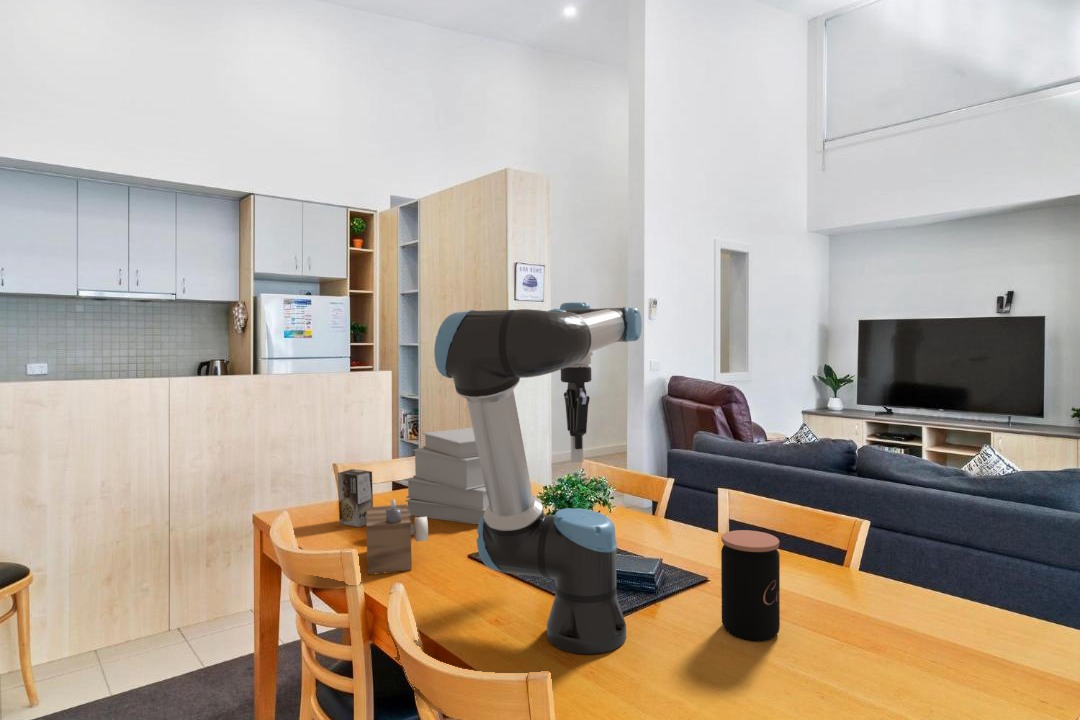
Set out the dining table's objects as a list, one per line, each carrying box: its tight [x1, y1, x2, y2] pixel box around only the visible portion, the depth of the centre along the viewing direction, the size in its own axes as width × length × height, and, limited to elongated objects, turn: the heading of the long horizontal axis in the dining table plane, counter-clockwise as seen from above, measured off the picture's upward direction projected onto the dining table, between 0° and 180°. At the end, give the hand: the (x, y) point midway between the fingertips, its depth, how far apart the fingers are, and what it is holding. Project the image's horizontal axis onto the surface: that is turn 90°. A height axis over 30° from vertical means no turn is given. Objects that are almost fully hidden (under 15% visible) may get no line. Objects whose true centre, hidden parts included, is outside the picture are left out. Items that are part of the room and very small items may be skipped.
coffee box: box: [337, 468, 374, 528], centre depth 200 cm, size 9×6×16 cm
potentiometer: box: [386, 499, 401, 524], centre depth 159 cm, size 4×4×5 cm
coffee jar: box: [720, 529, 781, 643], centre depth 124 cm, size 11×11×18 cm
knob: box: [411, 516, 429, 542], centre depth 166 cm, size 6×15×6 cm, turn 105°
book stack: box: [405, 427, 489, 525], centre depth 211 cm, size 30×35×26 cm
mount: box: [366, 503, 413, 575], centre depth 166 cm, size 18×11×12 cm, turn 15°
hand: (577, 461), depth 158 cm, fingers closed
